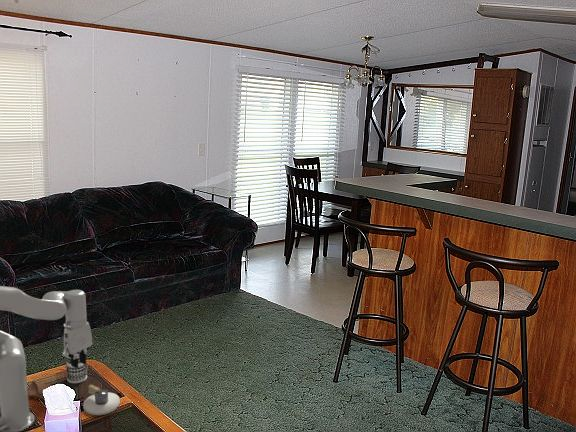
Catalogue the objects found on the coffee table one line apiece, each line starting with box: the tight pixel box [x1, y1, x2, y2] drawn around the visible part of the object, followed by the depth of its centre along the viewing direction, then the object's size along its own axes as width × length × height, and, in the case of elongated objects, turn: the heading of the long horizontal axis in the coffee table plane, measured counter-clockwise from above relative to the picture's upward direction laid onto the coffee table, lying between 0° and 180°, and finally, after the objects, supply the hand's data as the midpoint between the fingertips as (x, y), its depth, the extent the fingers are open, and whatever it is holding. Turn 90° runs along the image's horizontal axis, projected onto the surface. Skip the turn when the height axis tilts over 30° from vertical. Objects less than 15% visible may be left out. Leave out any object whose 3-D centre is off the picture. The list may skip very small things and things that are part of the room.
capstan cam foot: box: [87, 384, 109, 405], centre depth 223 cm, size 10×5×5 cm, turn 58°
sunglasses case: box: [27, 381, 54, 401], centre depth 228 cm, size 18×7×7 cm, turn 78°
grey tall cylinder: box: [63, 328, 88, 384], centre depth 238 cm, size 9×9×25 cm
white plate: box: [83, 391, 121, 416], centre depth 222 cm, size 14×14×2 cm
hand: (78, 364), depth 216 cm, fingers open, 3 cm apart
